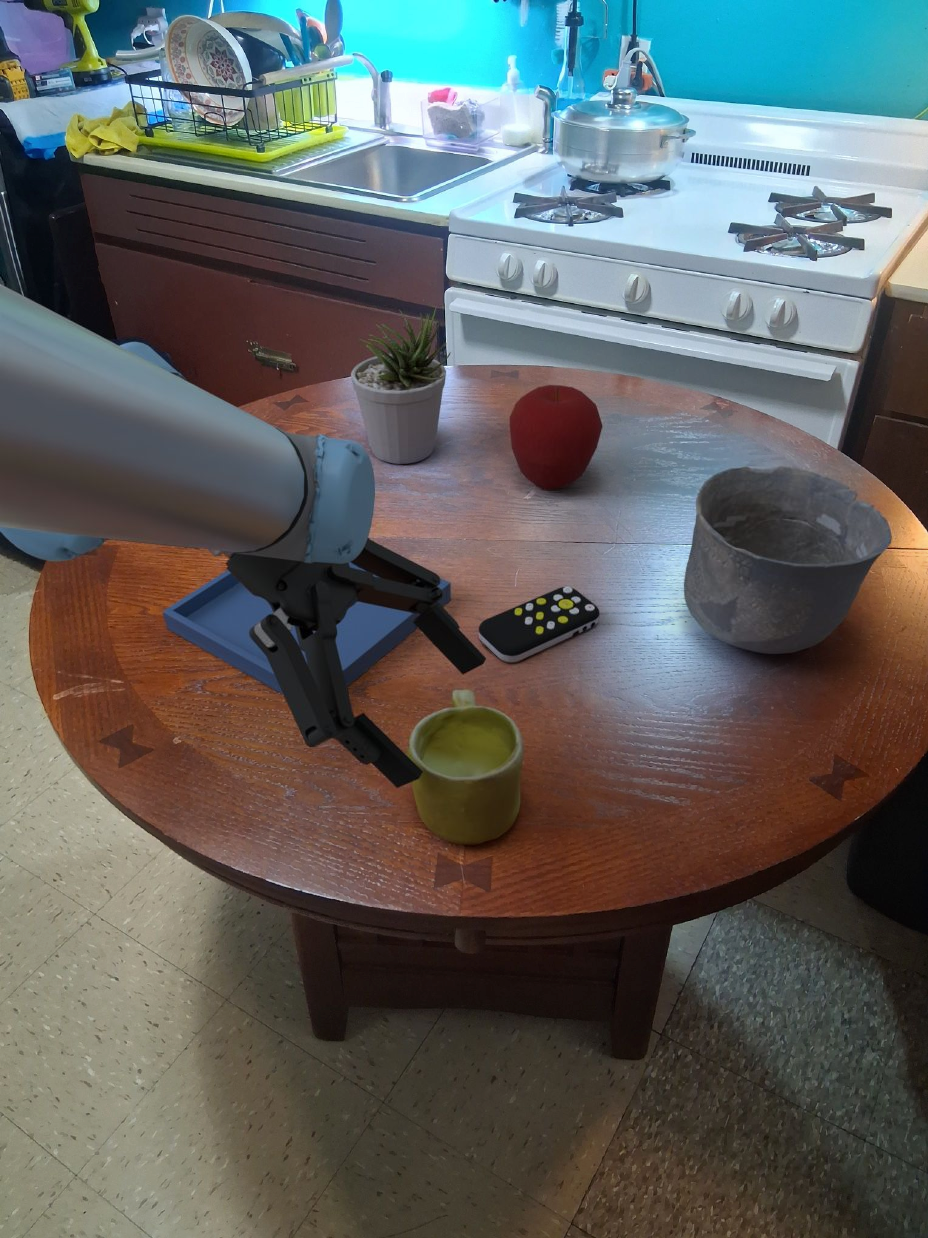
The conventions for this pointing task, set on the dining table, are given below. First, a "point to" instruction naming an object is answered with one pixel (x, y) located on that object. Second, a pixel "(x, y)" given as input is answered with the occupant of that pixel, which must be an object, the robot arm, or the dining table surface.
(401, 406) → the potted plant
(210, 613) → the blue tray
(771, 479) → the grey stone bowl
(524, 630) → the remote control
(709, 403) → the dining table surface
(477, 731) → the mug
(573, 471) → the apple
